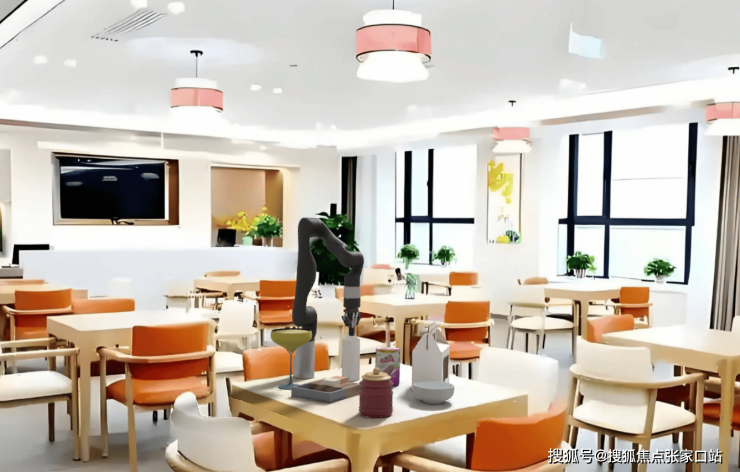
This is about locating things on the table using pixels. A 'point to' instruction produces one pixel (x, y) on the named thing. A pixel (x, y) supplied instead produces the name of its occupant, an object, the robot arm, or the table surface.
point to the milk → (351, 357)
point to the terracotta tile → (343, 379)
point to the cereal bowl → (433, 391)
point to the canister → (376, 395)
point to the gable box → (431, 357)
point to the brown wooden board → (336, 387)
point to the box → (317, 394)
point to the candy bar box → (389, 362)
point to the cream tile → (331, 381)
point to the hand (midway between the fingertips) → (351, 335)
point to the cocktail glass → (290, 344)
